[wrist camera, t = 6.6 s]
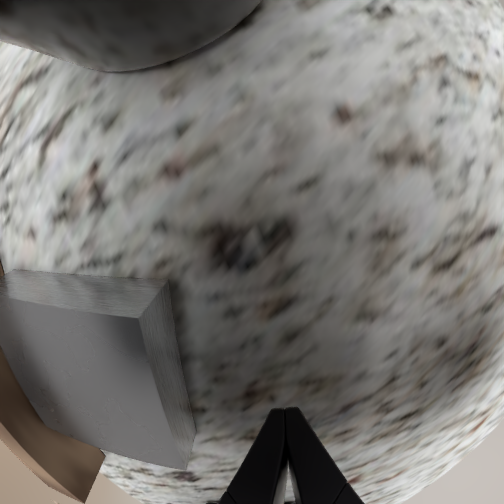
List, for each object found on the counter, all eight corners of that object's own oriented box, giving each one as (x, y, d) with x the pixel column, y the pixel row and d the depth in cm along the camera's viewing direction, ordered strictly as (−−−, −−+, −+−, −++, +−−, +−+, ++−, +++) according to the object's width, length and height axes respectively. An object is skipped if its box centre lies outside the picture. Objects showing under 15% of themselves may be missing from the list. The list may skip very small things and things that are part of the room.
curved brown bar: (105, 456, 12) (84, 503, 8) (71, 445, 12) (48, 486, 8) (-8, 231, 7) (-78, 264, 4) (-33, 239, 8) (-90, 268, 4)
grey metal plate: (197, 424, 10) (186, 470, 8) (68, 394, 11) (46, 426, 8) (172, 274, 8) (138, 318, 6) (20, 265, 8) (-21, 290, 6)
